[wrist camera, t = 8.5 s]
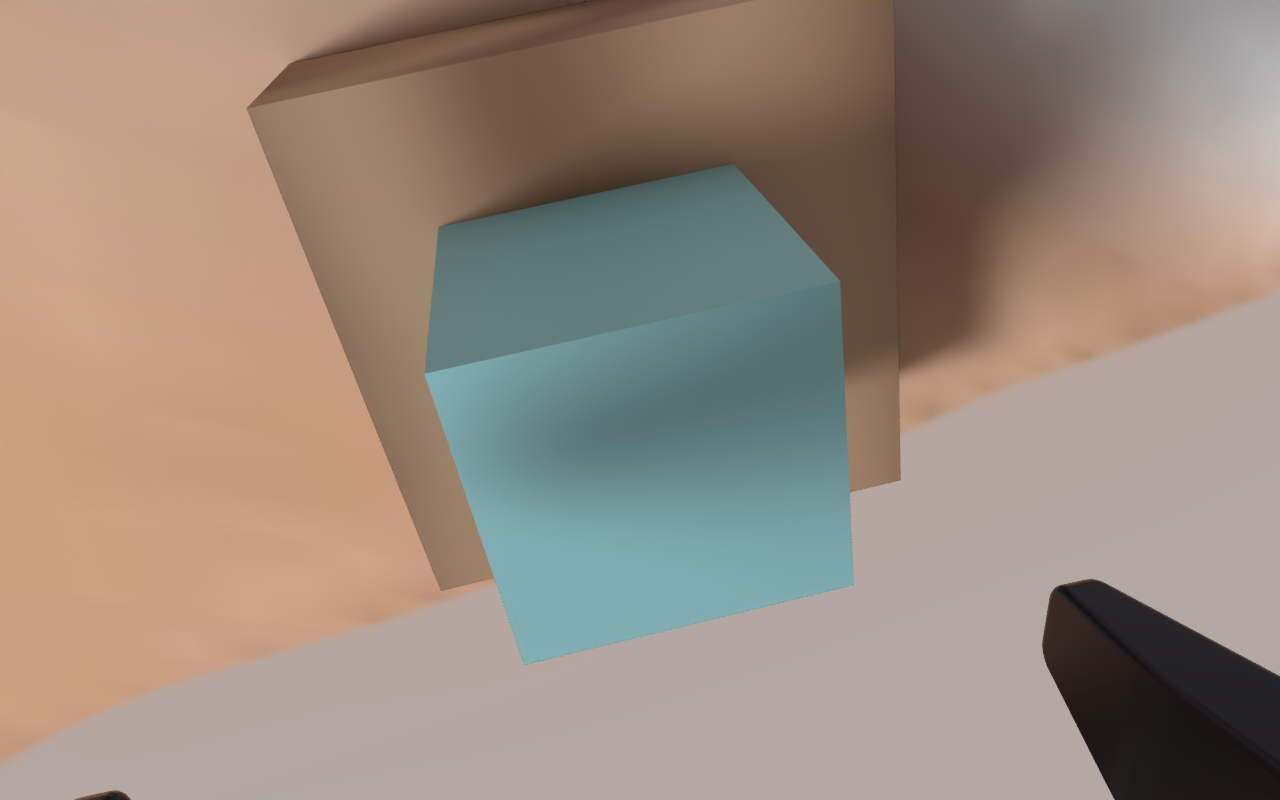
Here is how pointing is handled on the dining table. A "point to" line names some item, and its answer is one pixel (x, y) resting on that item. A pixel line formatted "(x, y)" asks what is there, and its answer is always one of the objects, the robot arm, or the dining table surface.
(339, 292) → the walnut block
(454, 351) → the teal cube
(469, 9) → the dining table surface
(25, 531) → the dining table surface
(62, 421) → the dining table surface
